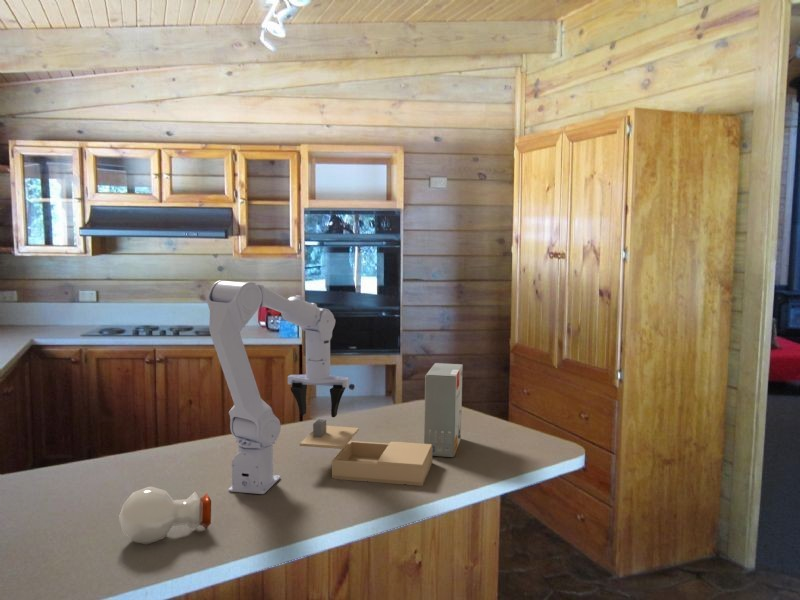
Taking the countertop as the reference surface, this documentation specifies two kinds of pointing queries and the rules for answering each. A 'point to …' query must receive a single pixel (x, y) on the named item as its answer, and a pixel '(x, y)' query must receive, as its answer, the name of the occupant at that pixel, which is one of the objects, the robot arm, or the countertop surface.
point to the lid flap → (329, 436)
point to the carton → (383, 462)
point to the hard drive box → (443, 408)
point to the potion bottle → (161, 514)
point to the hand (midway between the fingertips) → (318, 415)
